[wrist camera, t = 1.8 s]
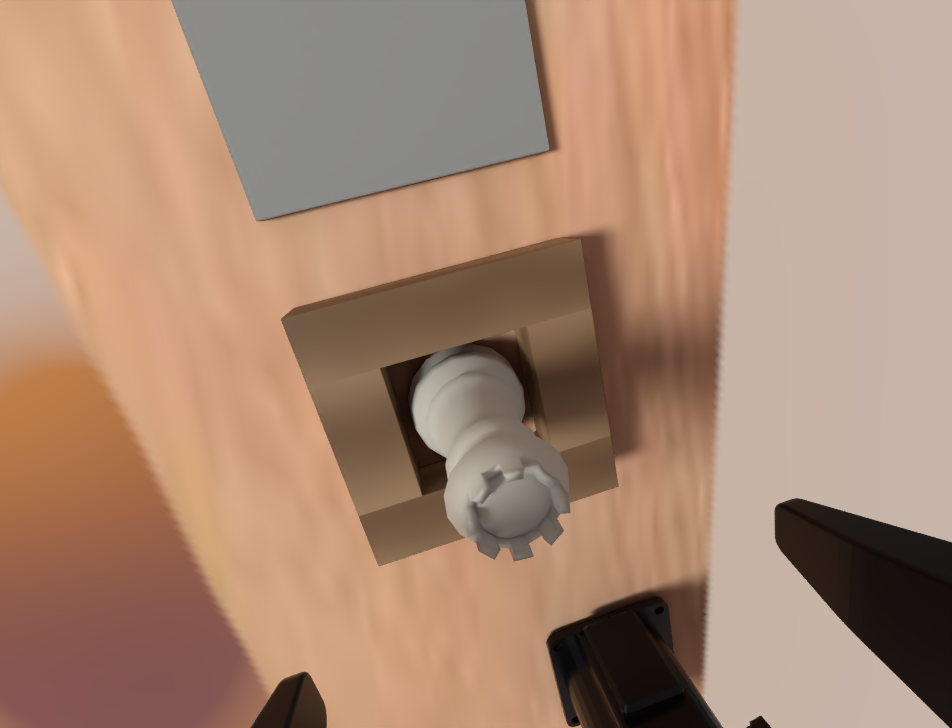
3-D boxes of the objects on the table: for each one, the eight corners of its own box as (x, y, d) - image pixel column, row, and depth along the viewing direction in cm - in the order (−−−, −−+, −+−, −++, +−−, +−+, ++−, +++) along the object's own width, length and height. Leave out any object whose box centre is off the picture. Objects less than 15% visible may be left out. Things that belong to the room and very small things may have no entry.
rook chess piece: (468, 316, 17) (533, 387, 9) (538, 394, 18) (642, 508, 11) (383, 394, 17) (379, 524, 10) (458, 464, 19) (506, 624, 11)
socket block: (596, 462, 20) (618, 486, 18) (379, 532, 19) (378, 566, 17) (558, 238, 17) (580, 238, 15) (293, 308, 16) (280, 319, 14)
